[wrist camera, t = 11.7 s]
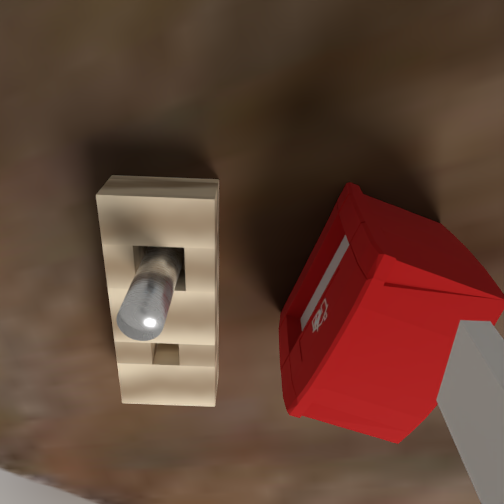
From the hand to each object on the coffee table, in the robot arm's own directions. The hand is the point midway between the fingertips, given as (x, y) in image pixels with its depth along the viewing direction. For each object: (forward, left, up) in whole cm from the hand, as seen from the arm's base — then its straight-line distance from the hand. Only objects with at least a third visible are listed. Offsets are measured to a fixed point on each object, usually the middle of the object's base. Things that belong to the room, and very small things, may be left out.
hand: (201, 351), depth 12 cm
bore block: (+19, -7, -33) cm, 38 cm away
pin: (+14, -7, -32) cm, 35 cm away
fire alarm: (+16, +12, -33) cm, 39 cm away
